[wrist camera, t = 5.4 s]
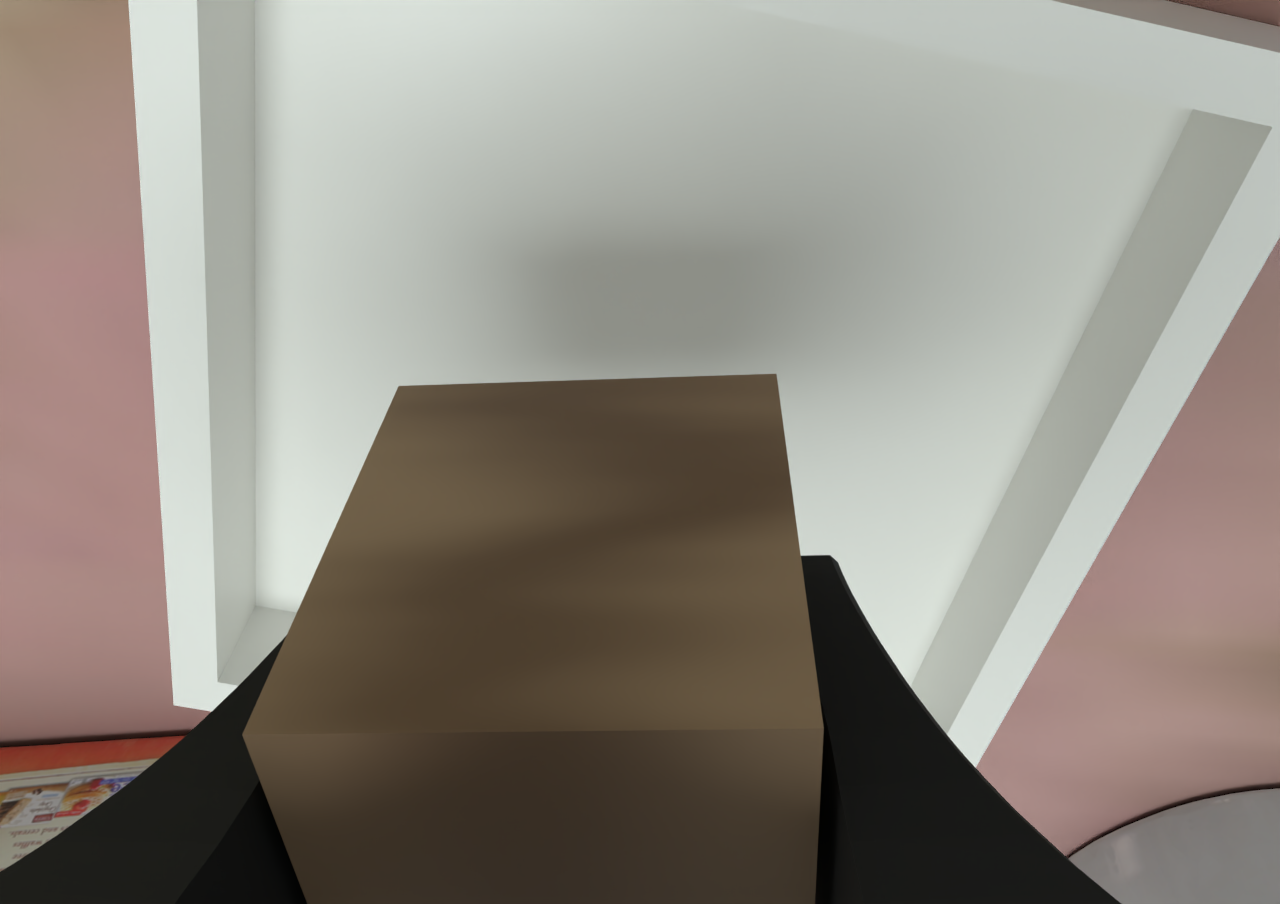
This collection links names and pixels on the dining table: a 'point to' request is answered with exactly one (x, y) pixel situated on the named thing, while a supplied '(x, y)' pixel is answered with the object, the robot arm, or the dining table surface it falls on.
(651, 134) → the tray
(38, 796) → the cracker box
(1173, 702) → the dining table surface
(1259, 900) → the utensil holder
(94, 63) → the dining table surface
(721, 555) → the walnut block
